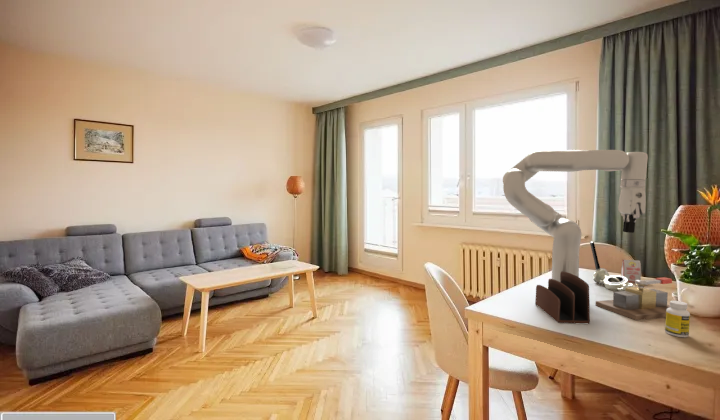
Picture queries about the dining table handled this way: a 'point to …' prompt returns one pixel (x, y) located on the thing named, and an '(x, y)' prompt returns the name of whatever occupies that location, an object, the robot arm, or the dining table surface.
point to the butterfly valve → (603, 276)
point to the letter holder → (565, 299)
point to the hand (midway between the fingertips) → (628, 232)
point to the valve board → (635, 311)
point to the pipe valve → (639, 298)
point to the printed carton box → (631, 270)
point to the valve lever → (653, 281)
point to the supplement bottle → (677, 319)
